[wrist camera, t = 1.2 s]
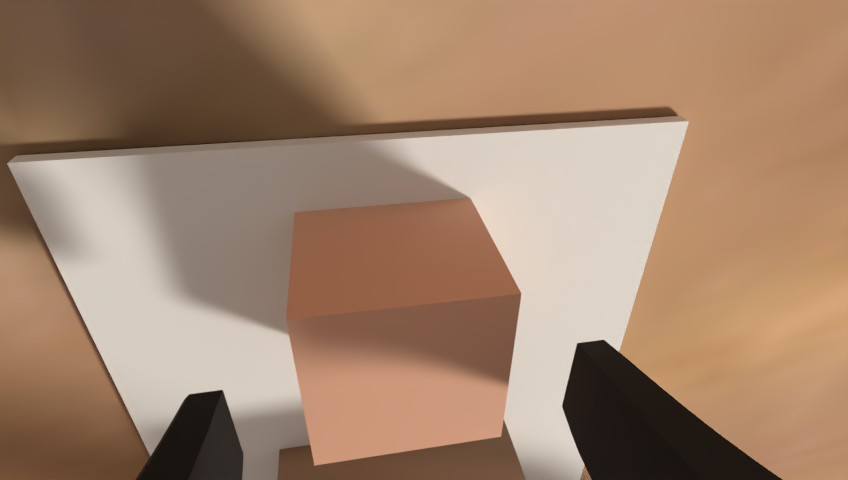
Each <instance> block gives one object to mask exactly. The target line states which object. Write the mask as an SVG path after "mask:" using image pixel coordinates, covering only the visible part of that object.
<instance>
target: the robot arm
mask: <svg viewBox="0 0 848 480" xmlns="http://www.w3.org/2000/svg"><path fill="white" fill-rule="evenodd" d="M562 408H563V411H564V414H565V417H566V420H567V422H568V425H569V428H570V431H571V434H572V436H573V439H574V442H575V444H576V447H577V449H578V452H579V454H580V456H581V458H582V460H583V463H584V465H585V467H586V469H587V471H588V473H589V475H590V477H591V479H592V480H782V479H781V478H779V477H778V476H776V475H775V474H773V473H772V472H770V471H769V470H768V469H766V468H765V467H763V466H762V465H760V464H759V463H758V462H756V461H755V460H753V459H752V458H751V457H749V456H748V455H747V454H745V453H744V452H743V451H741V450H740V449H738V448H737V447H736V446H734V445H733V444H732V443H730V442H729V441H728V440H726V439H725V438H724V437H722V436H721V435H720V434H718V433H717V432H716V431H714V430H713V429H712V428H711V427H709V426H708V425H707V424H705V423H704V422H703V421H702V420H700V419H699V418H698V417H696V416H695V415H694V414H693V413H691V412H690V411H689V410H688V409H686V408H685V407H684V406H683V405H682V404H680V403H679V402H678V401H677V400H675V399H674V398H673V397H672V396H671V395H669V394H668V393H667V392H666V391H664V390H663V389H662V388H661V387H660V386H658V385H657V384H656V383H655V382H654V381H653V380H651V379H650V378H649V377H648V376H647V375H645V374H644V373H643V372H642V371H641V370H639V369H638V368H637V367H636V366H635V365H634V364H632V363H631V362H630V361H629V360H628V359H627V358H625V357H624V356H623V355H622V354H621V353H619V352H618V351H617V350H616V349H615V348H613V347H612V346H611V345H610V344H609V343H607V342H606V341H605V340H598V341H590V342H582V343H577V346H576V350H575V354H574V358H573V362H572V366H571V371H570V375H569V379H568V383H567V387H566V391H565V396H564V400H563V404H562ZM243 457H244V454H243V451H242V448H241V445H240V442H239V439H238V435H237V432H236V429H235V426H234V423H233V420H232V417H231V414H230V411H229V408H228V404H227V401H226V398H225V395H224V392H223V390H218V391H210V392H203V393H195V394H189V395H188V396H187V397H186V398H185V399H184V401H183V403H182V404H181V406H180V408H179V410H178V411H177V413H176V415H175V416H174V418H173V420H172V422H171V423H170V425H169V427H168V428H167V430H166V432H165V433H164V435H163V437H162V438H161V440H160V442H159V443H158V445H157V447H156V448H155V450H154V452H153V453H152V455H151V456H150V458H149V460H148V461H147V463H146V465H145V466H144V468H143V469H142V471H141V472H140V474H139V475H138V477H137V479H136V480H242V474H243Z"/></svg>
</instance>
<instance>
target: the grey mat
mask: <svg viewBox="0 0 848 480" xmlns="http://www.w3.org/2000/svg"><path fill="white" fill-rule="evenodd" d="M688 123H689V121H688V120H686V119H685V118H683V117H681V116H670V117H653V118H636V119H619V120H603V121H586V122H569V123H553V124H536V125H519V126H502V127H486V128H469V129H452V130H435V131H419V132H402V133H385V134H368V135H352V136H335V137H318V138H302V139H285V140H268V141H251V142H235V143H218V144H201V145H184V146H168V147H151V148H134V149H117V150H101V151H84V152H67V153H51V154H34V155H17V156H15V157H14V158H12V159H11V160H10V161H9V162H7V165H8V167H9V169H10V171H11V173H12V175H13V177H14V179H15V181H16V183H17V185H18V187H19V189H20V191H21V193H22V195H23V197H24V199H25V201H26V203H27V205H28V207H29V209H30V212H31V214H32V216H33V218H34V220H35V222H36V224H37V226H38V228H39V230H40V232H41V234H42V236H43V238H44V240H45V242H46V244H47V246H48V248H49V250H50V252H51V254H52V256H53V258H54V260H55V263H56V265H57V267H58V269H59V271H60V273H61V275H62V277H63V279H64V281H65V283H66V285H67V287H68V289H69V291H70V293H71V295H72V297H73V299H74V301H75V303H76V305H77V307H78V309H79V311H80V314H81V316H82V318H83V320H84V322H85V324H86V326H87V328H88V330H89V332H90V334H91V336H92V338H93V340H94V342H95V344H96V346H97V348H98V350H99V352H100V354H101V356H102V358H103V360H104V363H105V365H106V367H107V369H108V371H109V373H110V375H111V377H112V379H113V381H114V383H115V385H116V387H117V389H118V391H119V393H120V395H121V397H122V399H123V401H124V403H125V405H126V407H127V409H128V411H129V414H130V416H131V418H132V420H133V422H134V424H135V426H136V428H137V430H138V432H139V434H140V436H141V438H142V440H143V442H144V444H145V446H146V448H147V450H148V452H149V454H150V456H151V455H152V453H153V452H154V450H155V448H156V447H157V445H158V443H159V442H160V440H161V438H162V437H163V435H164V433H165V432H166V430H167V428H168V427H169V425H170V423H171V422H172V420H173V418H174V416H175V415H176V413H177V411H178V410H179V408H180V406H181V404H182V403H183V401H184V399H185V398H186V397H187V396H188V395H189V394H195V393H203V392H210V391H218V390H223V392H224V395H225V398H226V401H227V404H228V408H229V411H230V414H231V417H232V420H233V423H234V426H235V429H236V432H237V435H238V439H239V442H240V445H241V448H242V451H243V454H244V457H243V474H242V480H277V477H278V464H279V450H280V449H285V448H292V447H299V446H305V445H310V440H309V435H308V430H307V425H306V420H305V415H304V409H303V404H302V399H301V394H300V389H299V384H298V379H297V374H296V368H295V363H294V358H293V353H292V348H291V343H290V338H289V333H288V327H287V322H286V314H287V302H288V290H289V277H290V265H291V253H292V240H293V228H294V216H295V212H303V211H315V210H327V209H340V208H352V207H364V206H377V205H389V204H402V203H414V202H426V201H439V200H451V199H463V198H471V200H472V202H473V204H474V205H475V207H476V209H477V211H478V213H479V215H480V217H481V219H482V220H483V222H484V224H485V226H486V228H487V230H488V232H489V234H490V235H491V237H492V239H493V241H494V243H495V245H496V247H497V249H498V250H499V252H500V254H501V256H502V258H503V260H504V262H505V264H506V265H507V267H508V269H509V271H510V273H511V275H512V277H513V279H514V280H515V282H516V284H517V286H518V288H519V290H520V292H521V301H520V308H519V315H518V322H517V329H516V336H515V343H514V350H513V357H512V364H511V371H510V378H509V385H508V392H507V399H506V406H505V413H504V421H505V424H506V426H507V429H508V432H509V435H510V437H511V440H512V443H513V446H514V448H515V451H516V454H517V456H518V459H519V462H520V465H521V467H522V470H523V473H524V476H525V478H526V480H580V478H581V475H582V471H583V468H584V463H583V460H582V458H581V456H580V454H579V452H578V449H577V447H576V444H575V442H574V439H573V436H572V434H571V431H570V428H569V425H568V422H567V420H566V417H565V414H564V411H563V408H562V404H563V400H564V396H565V391H566V387H567V383H568V379H569V375H570V371H571V366H572V362H573V358H574V354H575V350H576V346H577V343H582V342H590V341H598V340H605V341H606V342H607V343H609V344H610V345H611V346H612V347H613V348H615V349H616V350H617V351H618V352H619V350H620V347H621V343H622V340H623V337H624V333H625V330H626V327H627V323H628V320H629V317H630V314H631V310H632V307H633V304H634V300H635V297H636V294H637V291H638V287H639V284H640V281H641V277H642V274H643V271H644V268H645V264H646V261H647V258H648V254H649V251H650V248H651V245H652V241H653V238H654V235H655V231H656V228H657V225H658V222H659V218H660V215H661V212H662V208H663V205H664V202H665V199H666V195H667V192H668V189H669V185H670V182H671V179H672V176H673V172H674V169H675V166H676V162H677V159H678V156H679V152H680V149H681V146H682V143H683V139H684V136H685V133H686V129H687V126H688Z"/></svg>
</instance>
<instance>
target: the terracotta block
mask: <svg viewBox="0 0 848 480" xmlns="http://www.w3.org/2000/svg"><path fill="white" fill-rule="evenodd" d="M520 301H521V292H520V290H519V288H518V286H517V284H516V282H515V280H514V279H513V277H512V275H511V273H510V271H509V269H508V267H507V265H506V264H505V262H504V260H503V258H502V256H501V254H500V252H499V250H498V249H497V247H496V245H495V243H494V241H493V239H492V237H491V235H490V234H489V232H488V230H487V228H486V226H485V224H484V222H483V220H482V219H481V217H480V215H479V213H478V211H477V209H476V207H475V205H474V204H473V202H472V200H471V198H463V199H451V200H439V201H426V202H414V203H402V204H389V205H377V206H364V207H352V208H340V209H327V210H315V211H303V212H295V216H294V228H293V240H292V253H291V265H290V277H289V290H288V302H287V314H286V322H287V327H288V333H289V338H290V343H291V348H292V353H293V358H294V363H295V368H296V374H297V379H298V384H299V389H300V394H301V399H302V404H303V409H304V415H305V420H306V425H307V430H308V435H309V440H310V445H311V450H312V456H313V461H314V466H315V465H321V464H328V463H334V462H341V461H347V460H354V459H360V458H367V457H373V456H380V455H386V454H392V453H399V452H405V451H412V450H418V449H425V448H431V447H438V446H444V445H450V444H457V443H463V442H470V441H476V440H483V439H489V438H496V437H501V434H502V427H503V420H504V413H505V406H506V399H507V392H508V385H509V378H510V371H511V364H512V357H513V350H514V343H515V336H516V329H517V322H518V315H519V308H520Z"/></svg>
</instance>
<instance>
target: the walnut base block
mask: <svg viewBox="0 0 848 480" xmlns="http://www.w3.org/2000/svg"><path fill="white" fill-rule="evenodd" d="M277 480H526V478H525V476H524V473H523V470H522V467H521V465H520V462H519V459H518V456H517V454H516V451H515V448H514V446H513V443H512V440H511V437H510V435H509V432H508V429H507V426H506V424H505V421H504V420H503V427H502V434H501V437H496V438H489V439H483V440H476V441H470V442H463V443H457V444H450V445H444V446H438V447H431V448H425V449H418V450H412V451H405V452H399V453H392V454H386V455H380V456H373V457H367V458H360V459H354V460H347V461H341V462H334V463H328V464H321V465H315V466H314V461H313V456H312V450H311V445H305V446H299V447H292V448H285V449H280V450H279V464H278V477H277Z"/></svg>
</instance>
